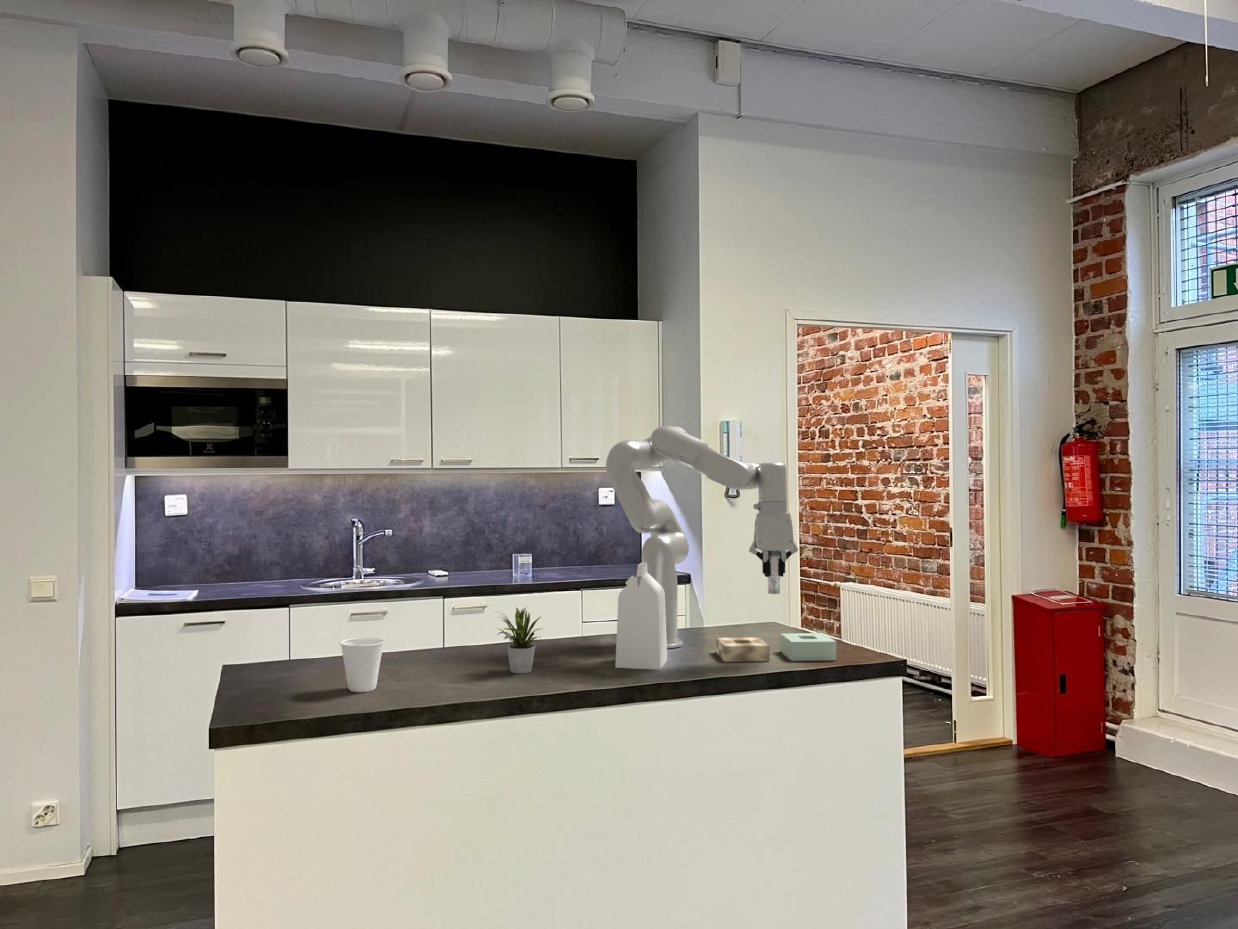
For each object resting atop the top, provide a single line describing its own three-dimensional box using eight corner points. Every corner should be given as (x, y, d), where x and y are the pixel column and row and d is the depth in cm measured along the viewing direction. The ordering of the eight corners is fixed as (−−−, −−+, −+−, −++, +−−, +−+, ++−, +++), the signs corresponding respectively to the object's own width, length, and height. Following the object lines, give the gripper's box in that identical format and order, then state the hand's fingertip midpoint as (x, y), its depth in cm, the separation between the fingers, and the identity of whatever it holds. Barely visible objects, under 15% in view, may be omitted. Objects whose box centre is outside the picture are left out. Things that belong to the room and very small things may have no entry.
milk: (660, 669, 242) (660, 566, 242) (615, 667, 245) (616, 565, 244) (667, 660, 254) (667, 561, 254) (624, 657, 256) (625, 560, 256)
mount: (724, 661, 252) (724, 646, 252) (716, 652, 264) (716, 637, 264) (769, 661, 253) (769, 646, 253) (759, 651, 265) (759, 637, 265)
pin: (769, 594, 257) (768, 549, 257) (766, 592, 260) (766, 548, 260) (781, 593, 257) (780, 549, 257) (778, 592, 261) (777, 548, 261)
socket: (791, 660, 254) (791, 642, 254) (780, 651, 266) (780, 633, 266) (836, 660, 255) (836, 641, 255) (822, 651, 267) (822, 633, 267)
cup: (388, 684, 225) (388, 637, 225) (379, 695, 215) (379, 645, 215) (345, 684, 225) (346, 637, 224) (334, 695, 215) (334, 645, 215)
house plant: (483, 666, 245) (484, 602, 245) (536, 662, 250) (536, 599, 250) (497, 678, 232) (497, 610, 231) (552, 674, 237) (552, 607, 236)
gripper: (745, 509, 255) (746, 578, 255) (806, 508, 256) (807, 577, 256) (740, 508, 262) (741, 575, 262) (799, 507, 263) (800, 574, 263)
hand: (773, 575), depth 259 cm, fingers closed on pin, 3 cm apart
